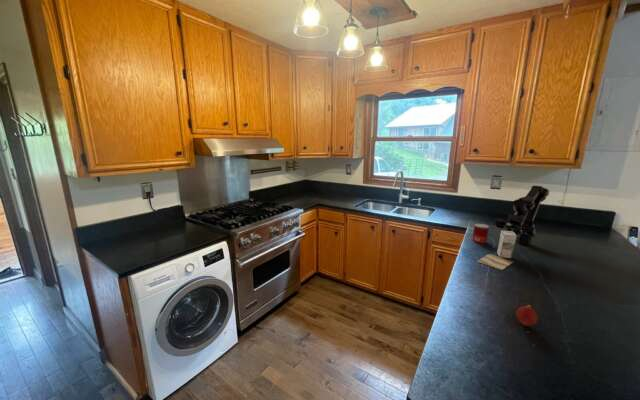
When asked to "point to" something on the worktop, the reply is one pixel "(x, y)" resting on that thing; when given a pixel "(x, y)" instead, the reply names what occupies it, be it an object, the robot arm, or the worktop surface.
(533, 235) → the robot arm
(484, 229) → the canned food
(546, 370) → the worktop surface
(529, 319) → the onion
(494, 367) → the worktop surface
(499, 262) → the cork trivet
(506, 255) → the syrup box
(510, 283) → the worktop surface
